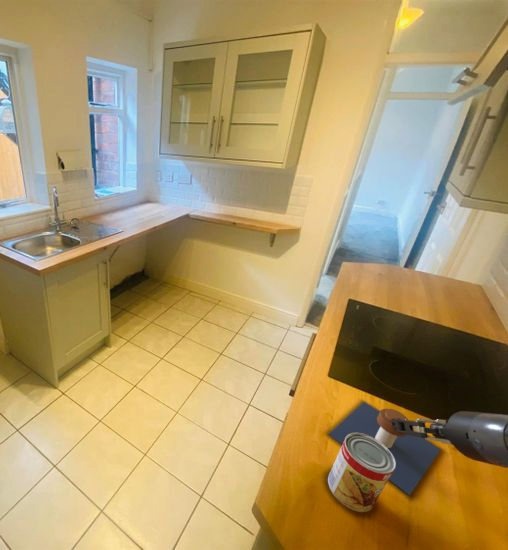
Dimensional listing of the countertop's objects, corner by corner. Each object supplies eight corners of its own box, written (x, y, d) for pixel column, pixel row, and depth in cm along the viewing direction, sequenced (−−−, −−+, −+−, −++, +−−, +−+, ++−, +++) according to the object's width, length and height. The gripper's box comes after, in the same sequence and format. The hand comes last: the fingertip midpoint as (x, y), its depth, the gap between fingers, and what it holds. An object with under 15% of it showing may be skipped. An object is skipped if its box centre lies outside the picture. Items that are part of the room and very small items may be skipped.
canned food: (380, 518, 57) (404, 478, 52) (333, 504, 59) (352, 465, 53) (364, 476, 64) (385, 438, 58) (323, 466, 65) (339, 428, 60)
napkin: (363, 402, 81) (364, 401, 81) (440, 450, 69) (440, 449, 69) (328, 434, 72) (328, 433, 72) (409, 495, 60) (409, 495, 60)
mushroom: (375, 426, 74) (387, 402, 71) (402, 444, 70) (417, 419, 66) (364, 438, 71) (376, 412, 68) (392, 457, 67) (406, 431, 64)
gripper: (540, 417, 47) (448, 409, 63) (442, 408, 49) (375, 403, 64) (558, 473, 45) (458, 450, 60) (454, 462, 46) (382, 443, 61)
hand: (416, 426), depth 62 cm, fingers open, 8 cm apart
